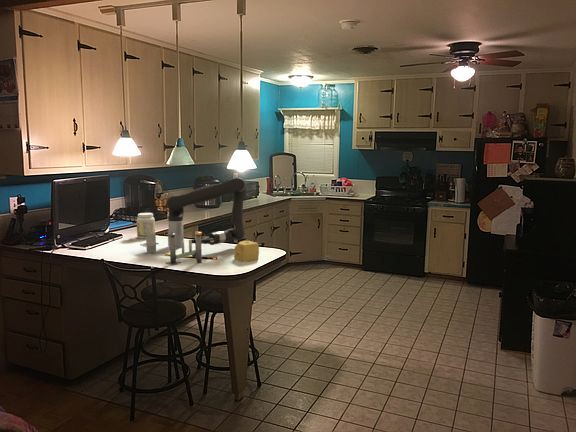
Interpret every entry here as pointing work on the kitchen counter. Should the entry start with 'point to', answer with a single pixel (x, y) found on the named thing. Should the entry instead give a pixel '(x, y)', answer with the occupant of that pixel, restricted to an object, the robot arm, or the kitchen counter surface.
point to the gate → (189, 250)
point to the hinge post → (172, 250)
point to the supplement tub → (145, 225)
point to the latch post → (198, 247)
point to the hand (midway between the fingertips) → (193, 242)
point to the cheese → (246, 251)
